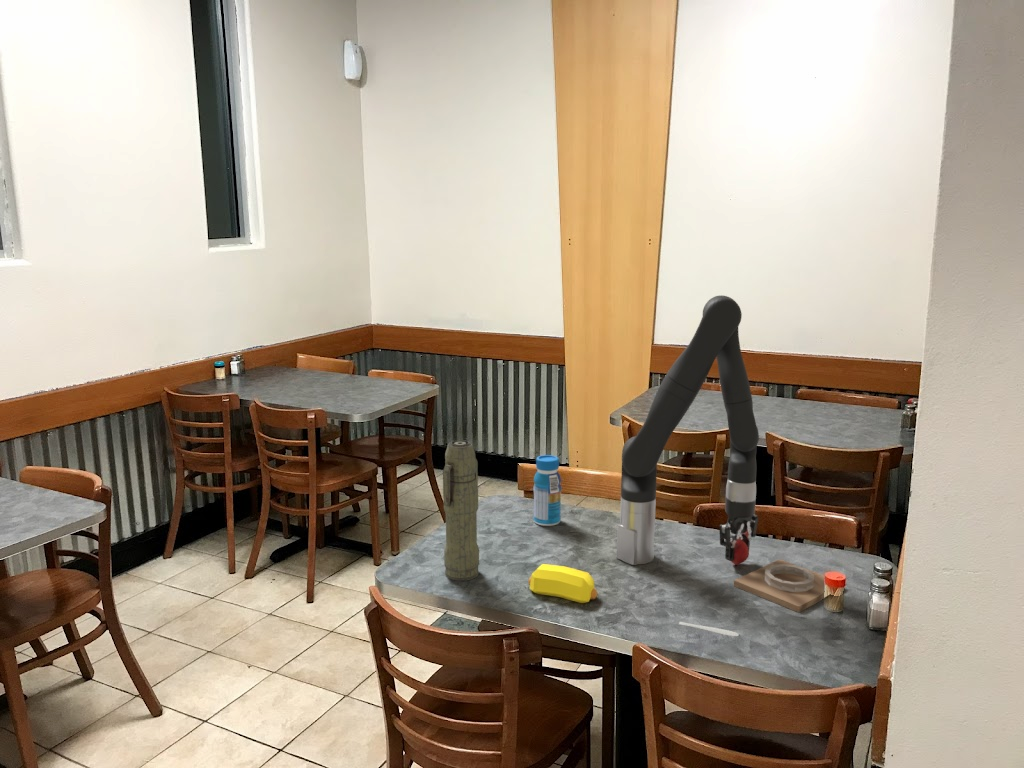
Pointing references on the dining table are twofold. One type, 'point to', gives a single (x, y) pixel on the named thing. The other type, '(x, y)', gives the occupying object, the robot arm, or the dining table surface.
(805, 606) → the mount board
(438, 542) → the dining table surface
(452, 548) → the thermos
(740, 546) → the onion
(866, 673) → the dining table surface
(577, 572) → the low-poly banana
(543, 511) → the beverage bottle
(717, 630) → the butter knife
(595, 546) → the dining table surface
